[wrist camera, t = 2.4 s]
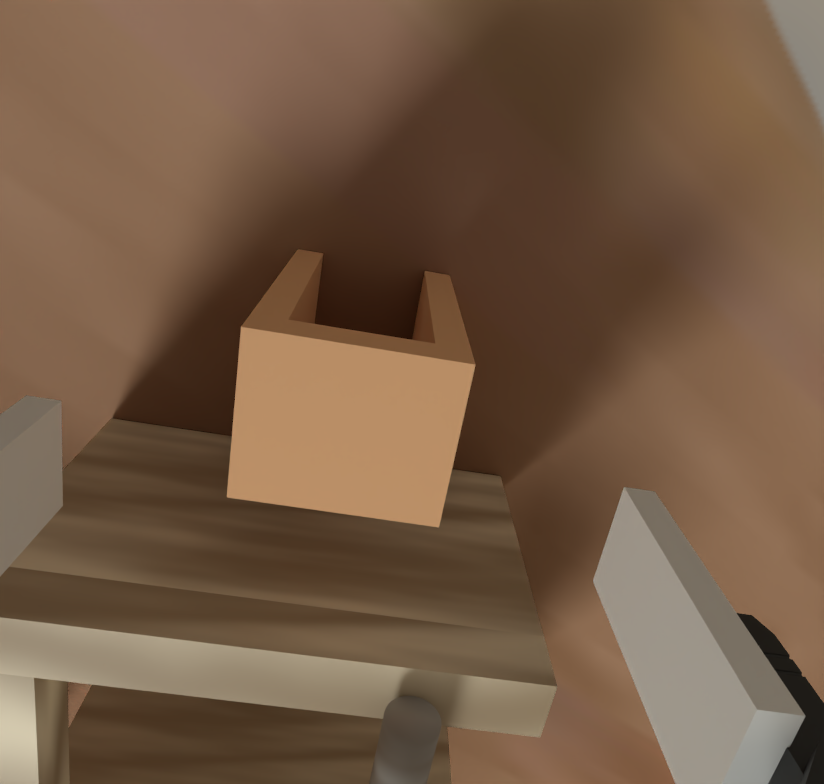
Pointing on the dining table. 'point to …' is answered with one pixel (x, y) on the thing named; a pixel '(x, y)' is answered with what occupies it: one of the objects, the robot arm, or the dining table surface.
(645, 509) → the robot arm
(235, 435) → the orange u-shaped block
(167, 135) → the dining table surface
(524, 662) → the shelf
